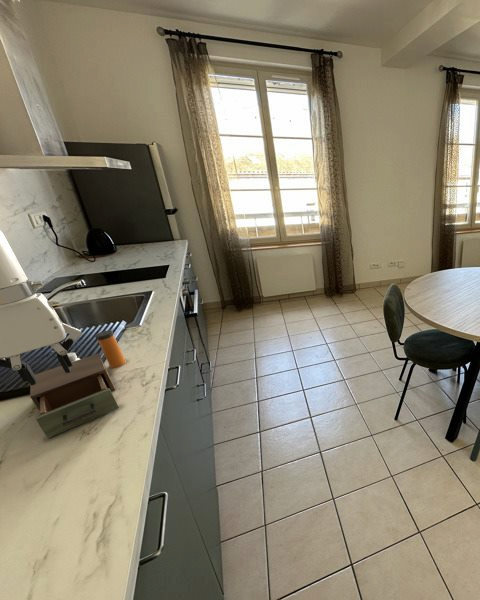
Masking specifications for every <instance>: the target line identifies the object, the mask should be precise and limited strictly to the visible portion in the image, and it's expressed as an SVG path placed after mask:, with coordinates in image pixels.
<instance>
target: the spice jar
mask: <svg viewBox="0 0 480 600" xmlns="http://www.w3.org/2000/svg"><path fill="white" fill-rule="evenodd" d="M94 338H95V340H97V341H96V342H97V343H98V345H99V347H100V349H101V351H102V353H103V355H104V356H105V359H106V361H107V363H108V365H109V367H110V368H111V369H115V368H119V367H121V366H123V365H125V364H126V362H127V361H126V359H125V356H124V354H123V352H122V350H121V348H120V346H119V343H118V341H117V339H116V337H115V335H114V332H113V330H112V329H111V330H110V329H109V330H103V331H99V332H98V333H96V334H95V335H94Z"/></svg>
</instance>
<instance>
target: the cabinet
mask: <svg viewBox="0 0 480 600" xmlns="http://www.w3.org/2000/svg"><path fill="white" fill-rule="evenodd" d="M79 359H80V360H77V361H74V362H72V364H73V366H71V367H70V371H71V372H69V373H65V371H64V369H63V367H62V365H60V366H57V367H53V368H50V369H48V370H44V371H41V372H39V373H36V374H35V373H34V375H35V377H36V384H35V385H31V384H30V383H29V384H30V386H29V387H30V388H29V389H30V390H29V394H30V395H29V396H30V399H31V401H32V403H33V404H34V405H35V407H36V408H37V410H38V412H39V413H40V396H42V395H45V394H48V393H50V392H53V391H56V390H59V389H61V388H64V387H67V386H69V385H72V384H75V383H78V382H80V381H83V380H86V379H88V378H91V377H94V376H97V375H99V374H101V376H102V378H103V380H104V382H105V384H106V386H107V388H110V390H111V392H114V391H116V387H115V386H114V382H113V381H112V378H111V376H110V375H111V374H110V373H109V371H108V368H107V367H106V365H105V363H104V361H103V358H102V357H101V355H100V353H95V354H92V355H90V356H86V357H84V358H79Z"/></svg>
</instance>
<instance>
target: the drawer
mask: <svg viewBox="0 0 480 600" xmlns="http://www.w3.org/2000/svg"><path fill="white" fill-rule="evenodd" d="M112 392H113V391H112ZM112 392H111V390H110V388H107V386H106V384H105V382H104V380H103V378H102V376H101V374H99V375H97V376H94V377H91V378H88V379H86V380H83V381H80V382H78V383H75V384H72V385H69V386H67V387H64V388H61V389H59V390H56V391H53V392H50V393H48V394H45V395H42V396H40V412H39V414H40V415H38V416H36V417H35V421H36V422H37V424H38V426H39V427H40V429H41V430H42V432H43V433H44V435H45V436H46V438H47V439H50V438H52V437H54V436H57V435H59V434H62V433H65V432H66V431H69V430H71V429H73V428H75V427H78V426H80V425H82V424H85V423H87V422H89V421H91V420H94V419H96V418H99V417H101V416H103V415H106V414H108V413H110V412H112V411H114V410H117V409H119V408H120V407H119V404H118V402H117V400H116V398H115V396H114V394H113V393H112Z"/></svg>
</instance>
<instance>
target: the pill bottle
mask: <svg viewBox="0 0 480 600" xmlns="http://www.w3.org/2000/svg"><path fill="white" fill-rule="evenodd" d="M67 354H68V356H69V358H70V360H71V362H74V361H77V360H80V359H81V358H80V357H78V356H77V354H76V352H67Z"/></svg>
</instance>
